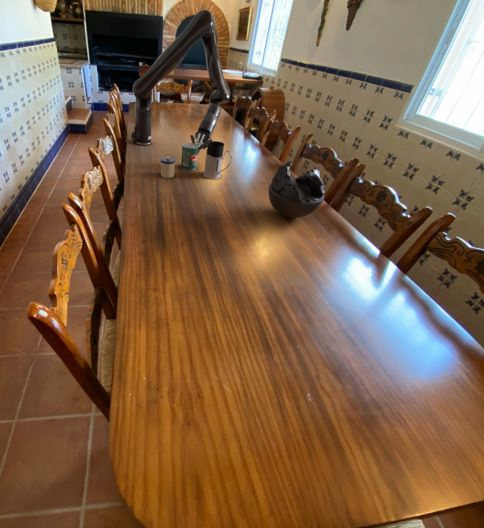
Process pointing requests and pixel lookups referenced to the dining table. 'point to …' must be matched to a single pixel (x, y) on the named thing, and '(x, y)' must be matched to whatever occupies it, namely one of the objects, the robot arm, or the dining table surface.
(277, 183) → the broken dark shell
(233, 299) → the dining table surface
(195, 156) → the canned tomato
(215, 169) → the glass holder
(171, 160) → the salt pot
